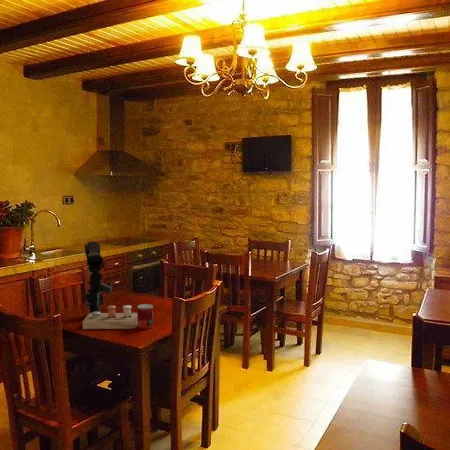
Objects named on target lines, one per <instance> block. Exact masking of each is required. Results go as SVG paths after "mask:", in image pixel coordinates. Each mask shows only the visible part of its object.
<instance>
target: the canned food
mask: <svg viewBox="0 0 450 450" xmlns="http://www.w3.org/2000/svg"><path fill="white" fill-rule="evenodd" d="M136 307H137V308H136V310H137V312H136V313H137V321H138V323H137V328H138V329H140V330H150V329H152V328H153V327H154V305H153V304H149V303H142V304H139V305H137V306H136Z"/></svg>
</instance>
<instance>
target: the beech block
mask: <svg viewBox="0 0 450 450" xmlns="http://www.w3.org/2000/svg"><path fill="white" fill-rule="evenodd" d="M88 314H89V313H88ZM88 314H87V315H86V316H85V318H84V319H83V320H82V330H104V329H106V330H111V329H112V330H118V329H119V330H121V329H124V330H126V329H136V328H137V326H138V321H137V312H131V318H124V312H115V318H108V312H106V313H104V312H101V314H100V318H92V315H91V313H90V314H89V315H88Z"/></svg>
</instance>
